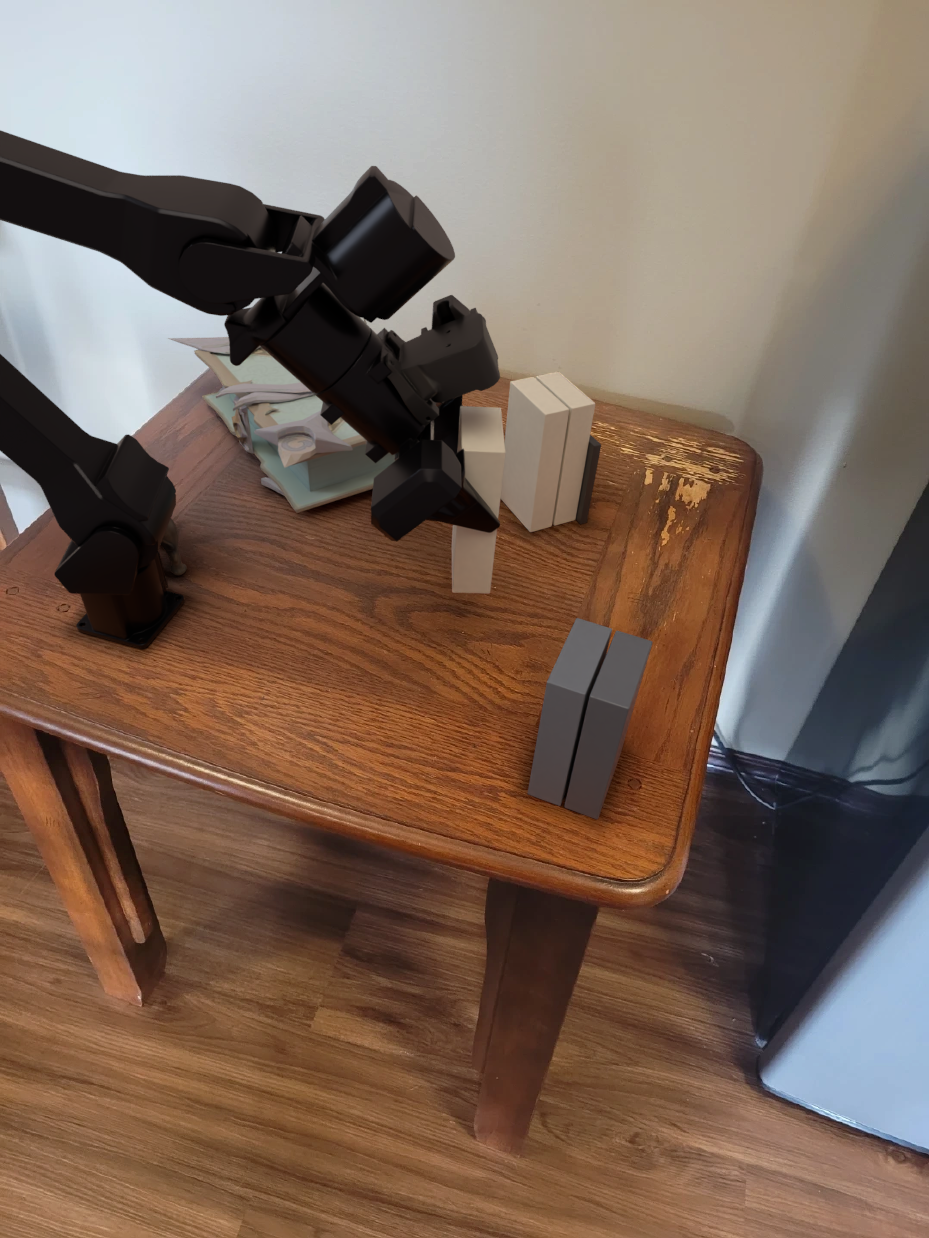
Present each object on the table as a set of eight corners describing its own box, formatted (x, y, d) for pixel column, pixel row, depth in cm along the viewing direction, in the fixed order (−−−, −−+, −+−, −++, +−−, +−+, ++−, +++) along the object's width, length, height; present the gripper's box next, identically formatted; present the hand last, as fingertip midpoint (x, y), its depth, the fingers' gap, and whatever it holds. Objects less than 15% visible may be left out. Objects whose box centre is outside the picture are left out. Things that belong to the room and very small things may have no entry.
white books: (534, 537, 82) (550, 419, 73) (495, 493, 87) (505, 377, 78) (587, 522, 84) (608, 405, 76) (546, 480, 90) (562, 365, 81)
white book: (452, 592, 67) (461, 450, 58) (451, 544, 71) (460, 405, 62) (490, 594, 67) (505, 452, 58) (487, 546, 71) (501, 407, 62)
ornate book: (481, 480, 91) (348, 354, 107) (489, 400, 84) (346, 279, 100) (286, 546, 81) (173, 397, 98) (277, 462, 74) (157, 317, 91)
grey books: (527, 794, 61) (546, 681, 52) (554, 730, 65) (576, 617, 57) (597, 820, 59) (629, 709, 51) (620, 753, 64) (653, 640, 56)
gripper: (429, 348, 46) (597, 520, 54) (431, 225, 59) (565, 377, 67) (293, 466, 51) (466, 607, 59) (324, 328, 64) (461, 458, 72)
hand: (493, 503), depth 64 cm, fingers closed on white book, 6 cm apart
